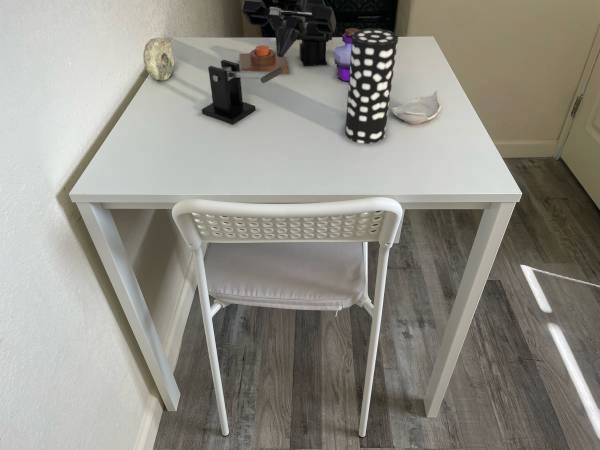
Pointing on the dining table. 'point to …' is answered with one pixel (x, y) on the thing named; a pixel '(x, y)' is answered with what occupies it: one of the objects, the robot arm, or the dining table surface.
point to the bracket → (226, 95)
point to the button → (262, 50)
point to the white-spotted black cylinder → (370, 84)
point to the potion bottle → (344, 55)
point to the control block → (263, 62)
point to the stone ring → (158, 58)
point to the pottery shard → (419, 109)
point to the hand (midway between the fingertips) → (279, 56)
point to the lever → (253, 74)
